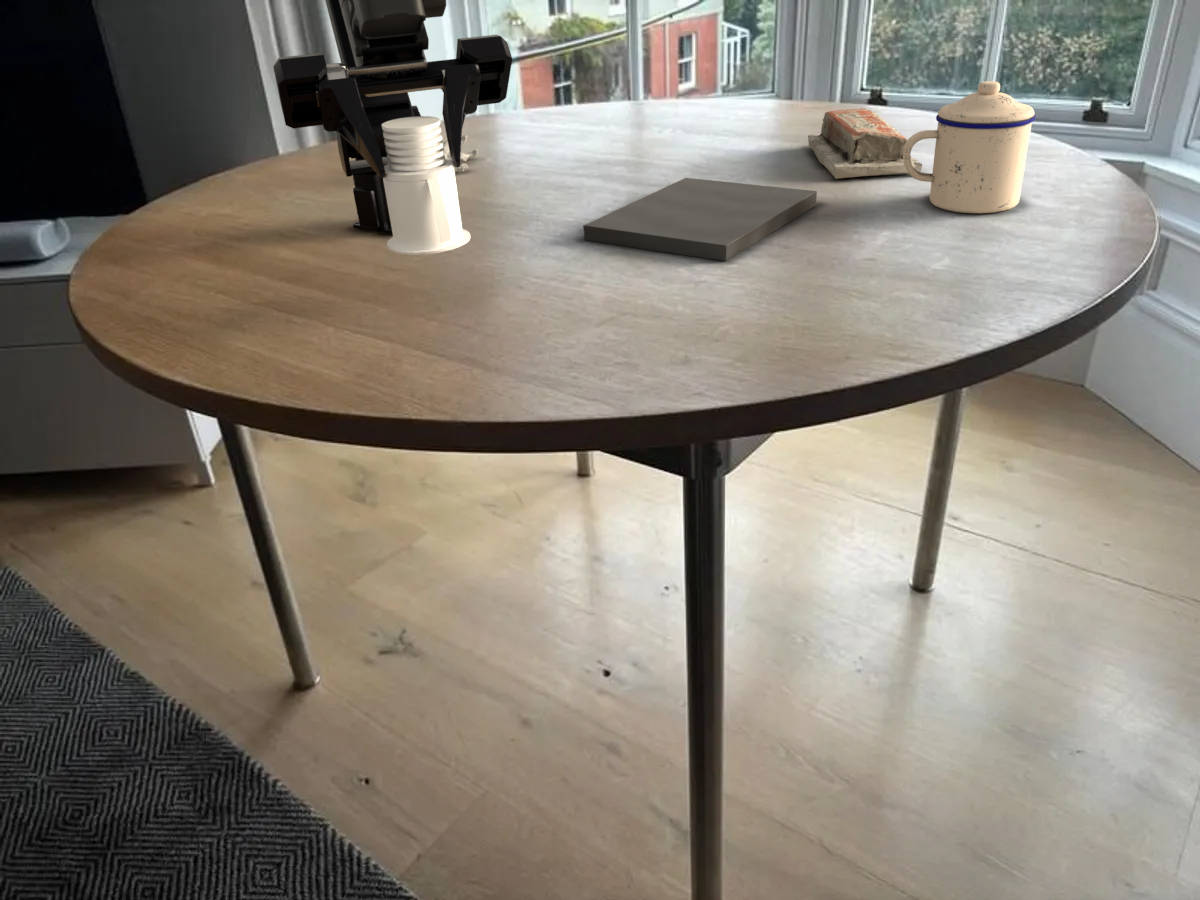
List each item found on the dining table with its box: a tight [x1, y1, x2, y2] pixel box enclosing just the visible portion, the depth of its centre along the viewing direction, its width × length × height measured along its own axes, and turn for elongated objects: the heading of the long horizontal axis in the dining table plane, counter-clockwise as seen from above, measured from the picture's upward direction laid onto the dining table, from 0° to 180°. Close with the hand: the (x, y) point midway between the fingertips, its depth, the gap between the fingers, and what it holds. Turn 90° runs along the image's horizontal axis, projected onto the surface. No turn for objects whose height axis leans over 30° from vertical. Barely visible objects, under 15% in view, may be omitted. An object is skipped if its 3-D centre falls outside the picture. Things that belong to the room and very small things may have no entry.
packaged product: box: [807, 108, 923, 180], centre depth 113 cm, size 18×5×10 cm
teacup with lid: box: [903, 80, 1036, 214], centre depth 93 cm, size 12×9×12 cm
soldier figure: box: [443, 134, 479, 173], centre depth 123 cm, size 8×5×12 cm
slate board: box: [582, 177, 818, 262], centre depth 95 cm, size 20×16×2 cm
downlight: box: [382, 115, 472, 256], centre depth 76 cm, size 8×7×10 cm
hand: (420, 169), depth 74 cm, fingers closed on downlight, 6 cm apart
